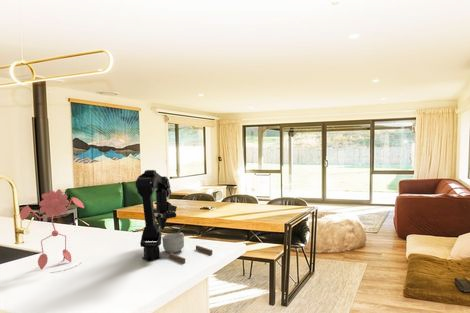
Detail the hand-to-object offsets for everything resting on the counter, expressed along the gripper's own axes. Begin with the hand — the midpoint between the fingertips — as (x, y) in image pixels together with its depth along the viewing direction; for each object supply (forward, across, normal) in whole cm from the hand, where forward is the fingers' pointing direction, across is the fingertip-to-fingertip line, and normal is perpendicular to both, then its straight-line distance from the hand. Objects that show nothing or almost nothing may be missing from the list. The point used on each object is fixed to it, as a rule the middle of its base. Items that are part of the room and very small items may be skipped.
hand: (162, 229), depth 183 cm
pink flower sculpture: (+9, +8, +50) cm, 51 cm away
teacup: (+9, -12, 0) cm, 15 cm away
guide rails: (+9, -25, 0) cm, 26 cm away
